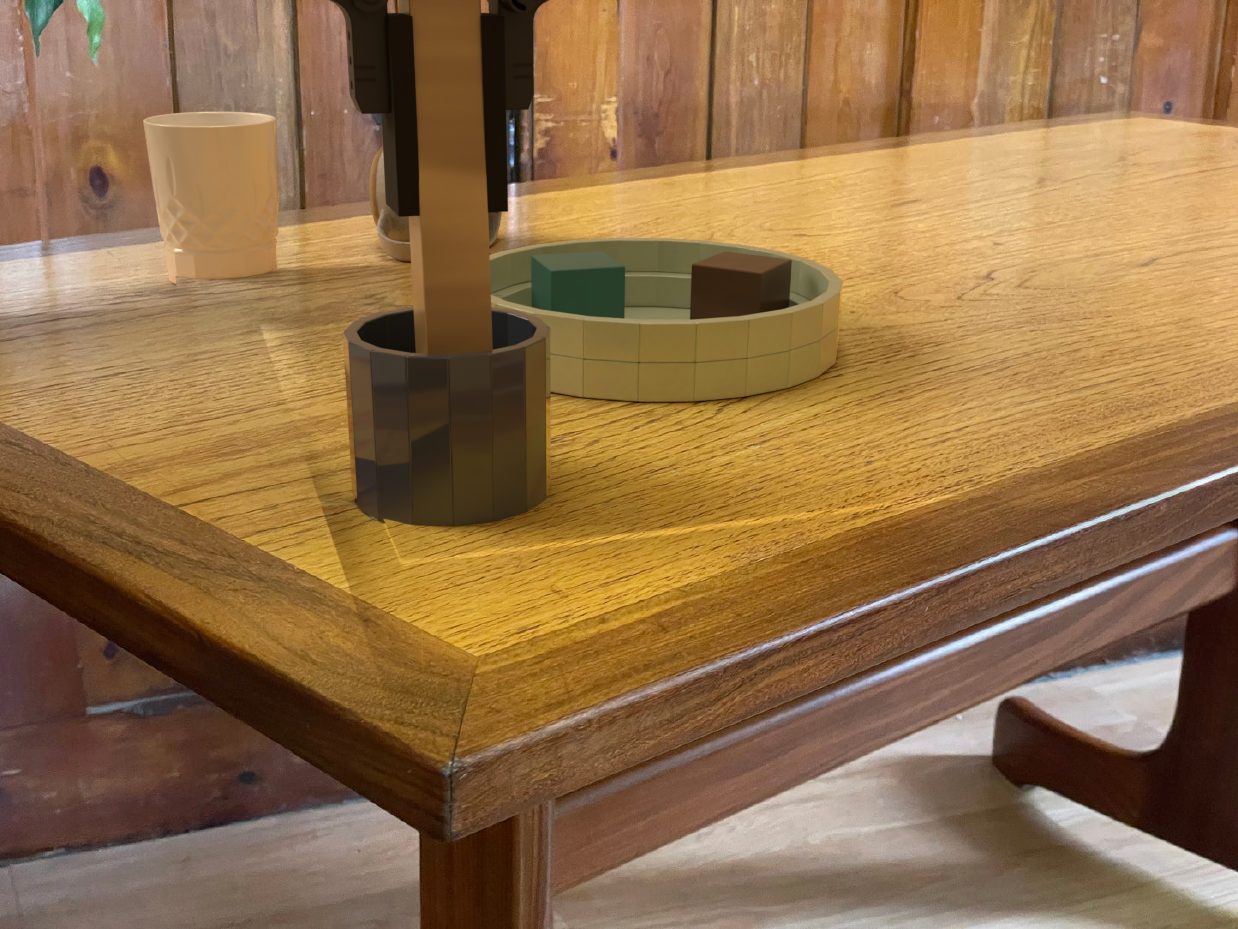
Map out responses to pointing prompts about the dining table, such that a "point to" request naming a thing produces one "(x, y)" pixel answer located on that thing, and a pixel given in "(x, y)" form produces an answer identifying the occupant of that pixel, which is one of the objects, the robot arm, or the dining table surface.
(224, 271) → the tan cup
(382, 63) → the robot arm
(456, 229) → the brown stick
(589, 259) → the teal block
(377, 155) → the ceramic mug
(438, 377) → the stick cup
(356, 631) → the dining table surface
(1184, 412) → the dining table surface
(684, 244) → the bowl
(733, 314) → the walnut block
